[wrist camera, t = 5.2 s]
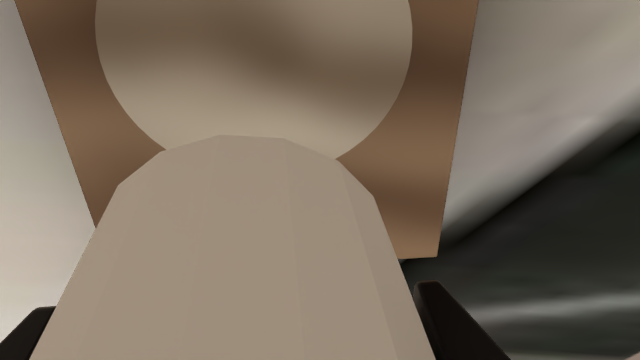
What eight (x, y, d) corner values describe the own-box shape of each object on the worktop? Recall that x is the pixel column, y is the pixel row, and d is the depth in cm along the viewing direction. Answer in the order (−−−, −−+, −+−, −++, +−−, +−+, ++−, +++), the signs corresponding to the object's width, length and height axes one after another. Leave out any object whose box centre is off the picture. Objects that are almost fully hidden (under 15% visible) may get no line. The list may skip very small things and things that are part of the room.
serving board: (431, 240, 25) (437, 258, 25) (118, 259, 25) (112, 278, 24) (525, -378, 13) (543, -386, 12) (-97, -373, 12) (-125, -382, 11)
